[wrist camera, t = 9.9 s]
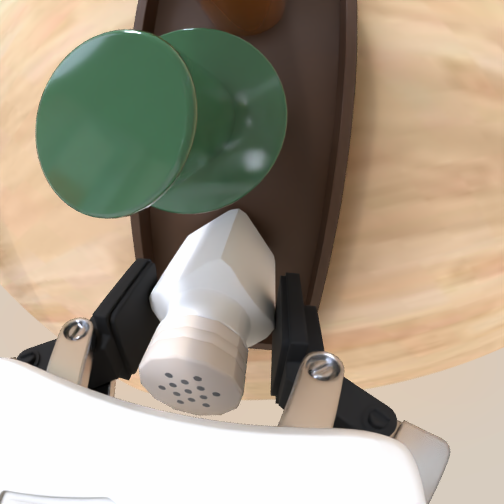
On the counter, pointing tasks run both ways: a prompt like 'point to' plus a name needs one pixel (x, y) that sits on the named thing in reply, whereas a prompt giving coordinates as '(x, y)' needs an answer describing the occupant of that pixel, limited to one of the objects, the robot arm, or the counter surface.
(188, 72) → the green bottle
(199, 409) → the salt shaker
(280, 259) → the tray
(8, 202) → the counter surface
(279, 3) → the amber bottle
